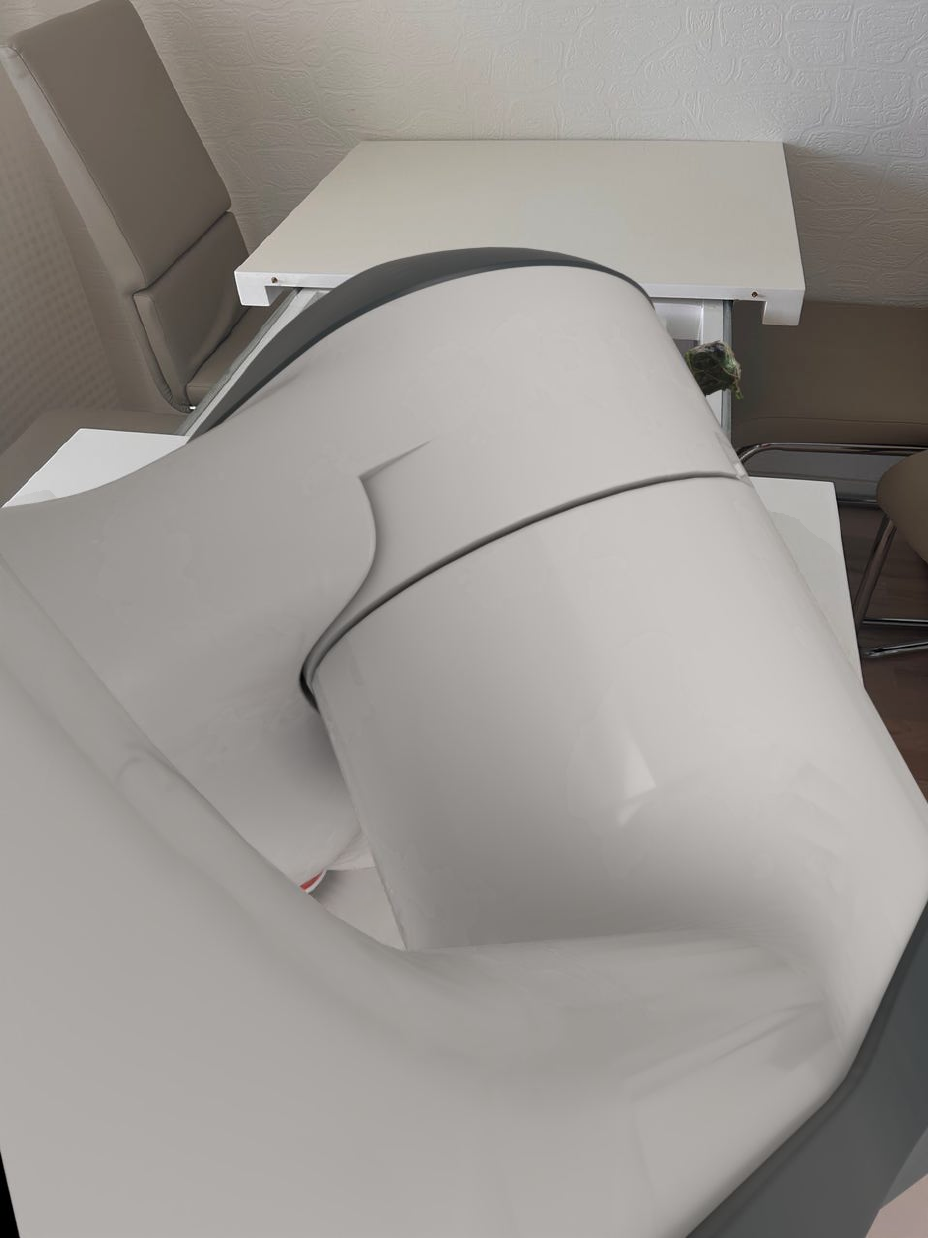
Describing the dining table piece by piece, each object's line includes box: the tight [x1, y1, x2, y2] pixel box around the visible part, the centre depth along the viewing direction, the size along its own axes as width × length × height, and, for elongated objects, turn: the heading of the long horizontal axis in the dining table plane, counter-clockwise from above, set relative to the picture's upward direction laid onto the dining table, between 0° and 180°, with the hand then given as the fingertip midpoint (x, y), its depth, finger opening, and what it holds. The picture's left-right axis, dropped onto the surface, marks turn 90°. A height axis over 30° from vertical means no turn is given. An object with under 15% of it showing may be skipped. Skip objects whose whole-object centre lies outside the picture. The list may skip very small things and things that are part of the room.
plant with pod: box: [684, 339, 745, 400], centre depth 67 cm, size 8×11×20 cm
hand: (573, 706), depth 42 cm, fingers closed on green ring, 6 cm apart
